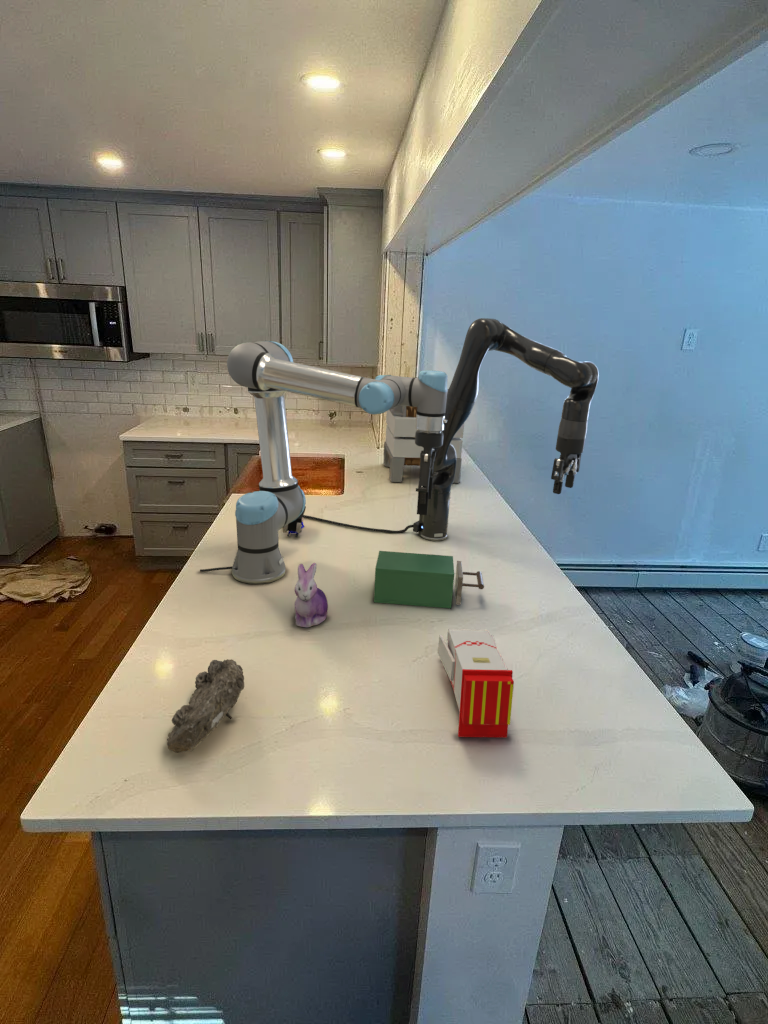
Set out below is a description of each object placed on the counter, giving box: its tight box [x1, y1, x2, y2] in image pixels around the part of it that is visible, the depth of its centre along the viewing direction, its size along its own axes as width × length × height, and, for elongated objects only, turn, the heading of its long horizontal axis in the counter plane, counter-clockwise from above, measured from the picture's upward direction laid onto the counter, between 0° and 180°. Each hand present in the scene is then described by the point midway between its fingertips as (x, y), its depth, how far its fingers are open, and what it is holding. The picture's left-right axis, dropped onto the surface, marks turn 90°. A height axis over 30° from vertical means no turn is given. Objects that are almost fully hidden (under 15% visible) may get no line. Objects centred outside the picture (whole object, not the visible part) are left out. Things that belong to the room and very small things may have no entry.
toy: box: [437, 628, 515, 738], centre depth 117 cm, size 12×13×30 cm
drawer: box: [454, 560, 485, 606], centre depth 155 cm, size 25×10×8 cm, turn 85°
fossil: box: [166, 658, 245, 754], centre depth 106 cm, size 22×10×15 cm
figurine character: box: [282, 505, 307, 538], centre depth 196 cm, size 7×8×15 cm
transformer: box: [383, 405, 465, 484], centre depth 268 cm, size 34×33×41 cm
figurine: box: [293, 562, 329, 628], centre depth 140 cm, size 9×10×15 cm
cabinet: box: [373, 550, 455, 609], centre depth 156 cm, size 21×12×10 cm, turn 85°
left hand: (424, 506), depth 158 cm, fingers open, 13 cm apart
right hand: (562, 490), depth 164 cm, fingers open, 8 cm apart
